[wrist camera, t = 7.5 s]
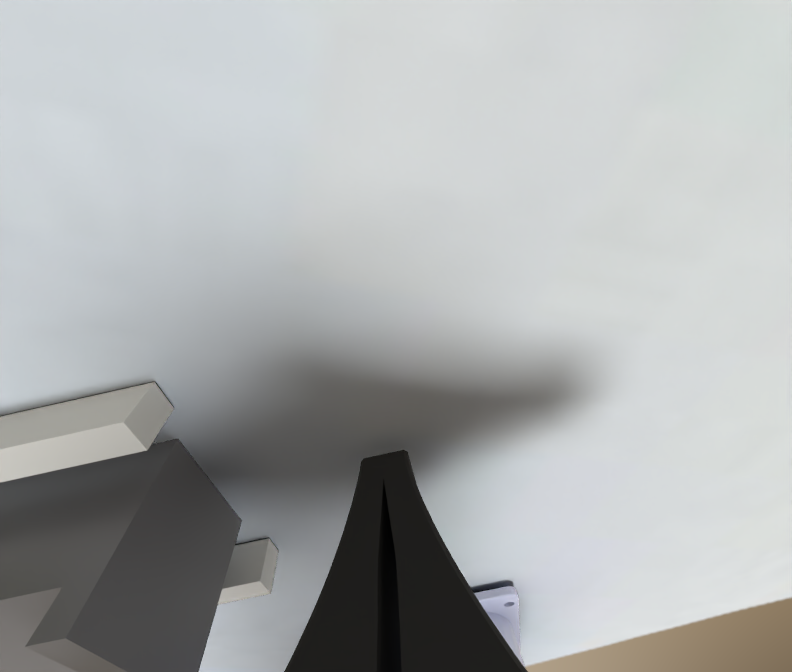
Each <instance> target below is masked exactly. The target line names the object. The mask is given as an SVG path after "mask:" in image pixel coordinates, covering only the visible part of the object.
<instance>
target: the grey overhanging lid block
mask: <svg viewBox="0 0 792 672" xmlns="http://www.w3.org/2000/svg"><path fill="white" fill-rule="evenodd" d="M241 522H242V520H241V519H240V518H239V517H238V515H237V514H236V513H235V511H234V510H233V509H232V508H231V506H230V505H229V504H228V502H227V501H226V500H225V499H224V497H223V496H222V495H221V493H220V492H219V491H218V490H217V488H216V487H215V486H214V485H213V483H212V482H211V481H210V479H209V478H208V477H207V476H206V474H205V473H204V472H203V470H202V469H201V468H200V467H199V465H198V464H197V463H196V461H195V460H194V459H193V458H192V456H191V455H190V454H189V452H188V451H187V450H186V449H185V447H184V446H183V445H182V443H181V442H180V441H179V440H178V439H175V440H170V441H166V442H161V443H157V444H152V445H151V446H150V447H149V449H148V450H147V451H142V452H138V453H133V454H129V455H124V456H119V457H115V458H110V459H106V460H101V461H97V462H92V463H87V464H83V465H78V466H74V467H69V468H65V469H60V470H55V471H51V472H46V473H42V474H37V475H33V476H28V477H23V478H19V479H14V480H10V481H5V482H1V483H0V672H198V671H199V668H200V664H201V661H202V657H203V654H204V650H205V647H206V643H207V640H208V636H209V633H210V629H211V626H212V622H213V619H214V616H215V612H216V609H217V605H218V602H219V598H220V595H221V591H222V588H223V584H224V581H225V577H226V574H227V570H228V567H229V563H230V560H231V556H232V553H233V550H234V546H235V543H236V539H237V536H238V532H239V529H240V525H241Z"/></svg>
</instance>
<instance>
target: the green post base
mask: <svg viewBox="0 0 792 672" xmlns="http://www.w3.org/2000/svg"><path fill="white" fill-rule="evenodd" d="M173 410H174V408H173V406H172V405H171V404H170V402H169V401H168V400H167V398H166V397H165V395H164V394H163V393H162V391H161V390H160V389H159V387H158V386H157V385H156V383H155V382H152V383H148V384H143V385H139V386H134V387H130V388H126V389H121V390H117V391H112V392H108V393H103V394H99V395H94V396H90V397H85V398H81V399H76V400H72V401H67V402H63V403H58V404H54V405H50V406H45V407H41V408H36V409H32V410H27V411H23V412H18V413H14V414H9V415H5V416H0V483H1V482H5V481H10V480H14V479H19V478H23V477H28V476H33V475H37V474H42V473H46V472H51V471H55V470H60V469H65V468H69V467H74V466H78V465H83V464H87V463H92V462H97V461H101V460H106V459H110V458H115V457H119V456H124V455H129V454H133V453H138V452H142V451H147V450H148V449H149V447H150V446H151V444H152V443H153V441H154V439H155V438H156V436H157V435H158V433H159V432H160V430H161V428H162V427H163V425H164V424H165V422H166V421H167V419H168V418H169V416H170V414H171V413H172V411H173ZM278 553H279V551H278V550H277V548H276V547H275V546H274V544H273V543H272V542H271V540H270V539H269V538H268V539H264V540H259V541H254V542H249V543H245V544H240V545H235V546H234V550H233V553H232V556H231V560H230V563H229V567H228V570H227V574H226V577H225V581H224V584H223V588H222V591H221V595H220V598H219V602H218V605H219V604H223V603H228V602H233V601H238V600H243V599H248V598H253V597H257V596H262V595H267V594H271V591H272V586H273V580H274V575H275V569H276V564H277V558H278Z"/></svg>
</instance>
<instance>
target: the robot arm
mask: <svg viewBox="0 0 792 672" xmlns="http://www.w3.org/2000/svg"><path fill="white" fill-rule="evenodd" d="M284 672H527V670H526V669H525V666H524V662H523V659H522V656H521V645H520V618H519V596H518V593H517V590H516V588H514V587H512V586H506V587H501V588H496V589H491V590H486V591H481V592H476V593H473V591H472V589H471V588H470V586H469V585H468V583H467V581H466V580H465V578H464V576H463V575H462V573H461V571H460V570H459V568H458V566H457V565H456V563H455V561H454V560H453V558H452V556H451V554H450V553H449V551H448V549H447V547H446V545H445V543H444V542H443V540H442V538H441V536H440V534H439V532H438V530H437V528H436V527H435V525H434V523H433V521H432V518H431V516H430V514H429V512H428V510H427V508H426V506H425V504H424V502H423V499H422V497H421V495H420V492H419V490H418V487H417V485H416V481H415V477H414V474H413V470H412V467H411V463H410V459H409V456H408V452H406V451H404V450H402V451H397V452H392V453H388V454H383V455H378V456H374V457H369V458H364V459H363V460H362V461H361V466H360V471H359V476H358V481H357V485H356V489H355V493H354V497H353V501H352V505H351V508H350V511H349V515H348V518H347V521H346V525H345V528H344V531H343V534H342V537H341V540H340V543H339V546H338V549H337V552H336V554H335V557H334V560H333V563H332V566H331V568H330V571H329V574H328V576H327V579H326V581H325V584H324V586H323V589H322V591H321V594H320V596H319V598H318V601H317V603H316V605H315V608H314V610H313V612H312V615H311V617H310V619H309V621H308V624H307V626H306V628H305V630H304V632H303V634H302V636H301V639H300V641H299V643H298V645H297V647H296V649H295V651H294V653H293V655H292V657H291V659H290V662H289V664H288V666H287V668H286V669H285V671H284Z"/></svg>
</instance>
